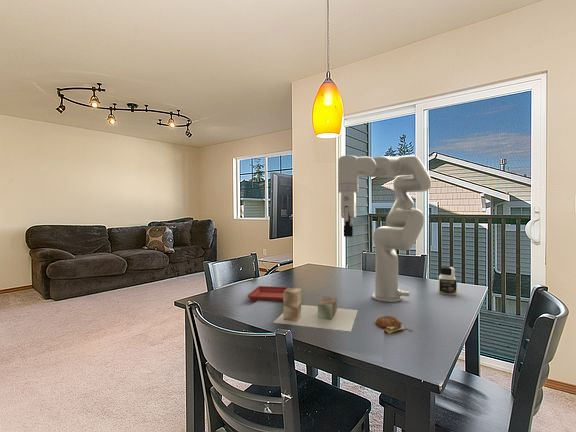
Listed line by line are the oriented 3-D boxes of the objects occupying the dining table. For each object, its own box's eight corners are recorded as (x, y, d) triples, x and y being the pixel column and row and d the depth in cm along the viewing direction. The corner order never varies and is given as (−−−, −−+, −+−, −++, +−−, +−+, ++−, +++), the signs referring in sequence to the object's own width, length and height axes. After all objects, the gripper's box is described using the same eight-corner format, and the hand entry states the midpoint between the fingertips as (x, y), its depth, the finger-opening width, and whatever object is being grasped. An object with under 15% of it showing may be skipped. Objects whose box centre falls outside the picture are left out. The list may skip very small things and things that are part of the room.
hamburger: (394, 342, 99) (394, 322, 99) (363, 327, 111) (363, 309, 111) (426, 333, 105) (427, 315, 105) (394, 320, 118) (394, 303, 117)
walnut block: (331, 319, 113) (336, 311, 123) (331, 305, 113) (336, 297, 122) (317, 318, 114) (323, 309, 124) (317, 304, 114) (323, 296, 124)
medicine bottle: (439, 293, 151) (439, 267, 151) (438, 289, 158) (438, 265, 158) (456, 295, 149) (456, 268, 148) (455, 291, 155) (455, 266, 155)
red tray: (258, 292, 155) (258, 285, 155) (296, 294, 152) (296, 287, 152) (246, 303, 137) (246, 295, 137) (288, 305, 134) (288, 297, 134)
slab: (357, 313, 124) (357, 310, 124) (350, 335, 103) (350, 331, 103) (292, 306, 131) (292, 303, 131) (273, 326, 110) (273, 322, 110)
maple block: (301, 316, 116) (301, 288, 116) (297, 321, 112) (297, 292, 111) (287, 315, 118) (287, 287, 117) (283, 319, 113) (283, 291, 113)
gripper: (356, 187, 117) (356, 238, 117) (359, 189, 131) (359, 234, 132) (335, 187, 119) (335, 238, 120) (341, 189, 133) (341, 234, 134)
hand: (348, 236), depth 126 cm, fingers closed
